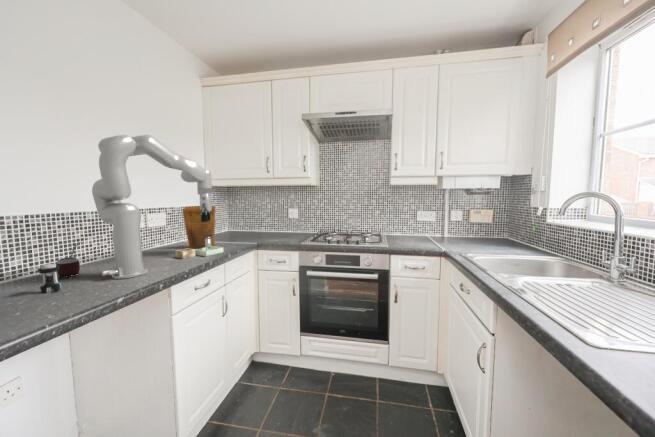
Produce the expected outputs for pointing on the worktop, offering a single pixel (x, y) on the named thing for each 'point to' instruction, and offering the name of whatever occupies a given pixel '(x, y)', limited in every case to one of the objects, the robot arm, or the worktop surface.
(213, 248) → the tray
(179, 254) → the socket block
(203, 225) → the pancake mix bag
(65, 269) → the manual coffee grinder
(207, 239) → the steel pin
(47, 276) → the black toy figure
